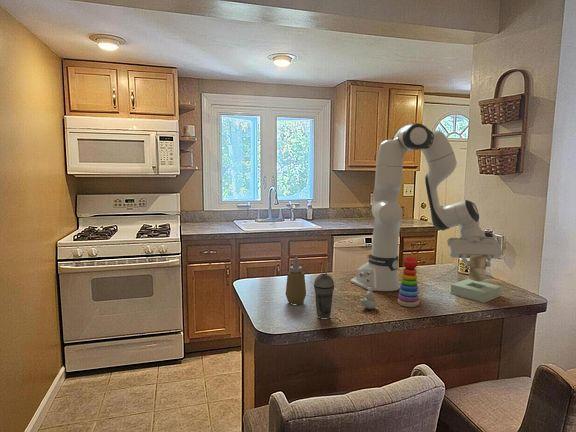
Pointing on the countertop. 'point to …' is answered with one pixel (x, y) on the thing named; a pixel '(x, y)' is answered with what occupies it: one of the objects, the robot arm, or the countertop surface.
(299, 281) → the squeeze bottle
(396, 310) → the countertop surface
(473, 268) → the peg
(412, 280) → the stacking toy
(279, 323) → the countertop surface
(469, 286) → the socket block
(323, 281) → the beverage cup
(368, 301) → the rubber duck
